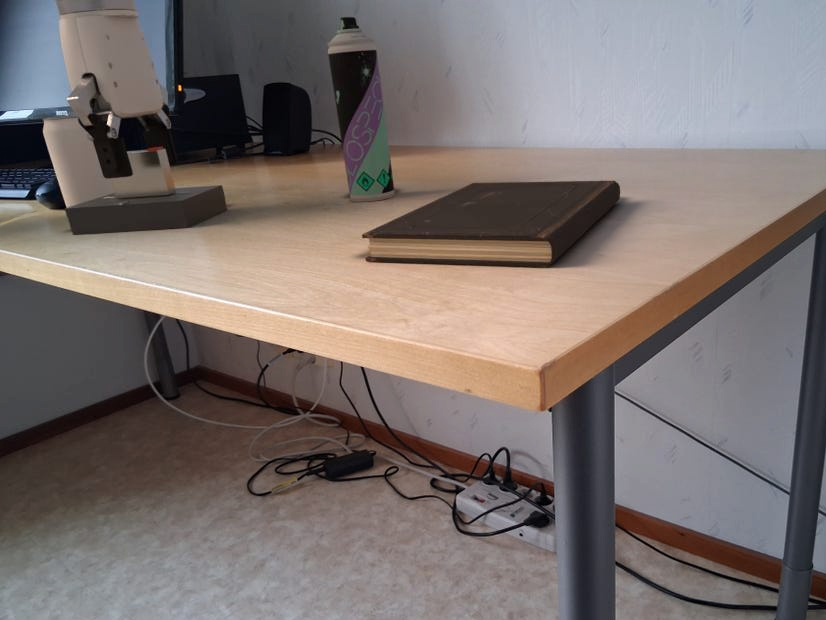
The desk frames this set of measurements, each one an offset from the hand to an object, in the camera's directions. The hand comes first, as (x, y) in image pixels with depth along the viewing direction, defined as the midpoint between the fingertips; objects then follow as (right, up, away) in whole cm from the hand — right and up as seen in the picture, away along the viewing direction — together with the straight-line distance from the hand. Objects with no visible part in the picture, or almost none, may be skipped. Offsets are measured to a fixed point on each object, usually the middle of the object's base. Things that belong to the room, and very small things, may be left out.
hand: (143, 170), depth 80 cm
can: (-15, -1, +17) cm, 23 cm away
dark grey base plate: (0, -5, +2) cm, 6 cm away
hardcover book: (+41, -10, -17) cm, 46 cm away
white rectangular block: (0, -3, +1) cm, 3 cm away
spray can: (+26, -2, +6) cm, 26 cm away
